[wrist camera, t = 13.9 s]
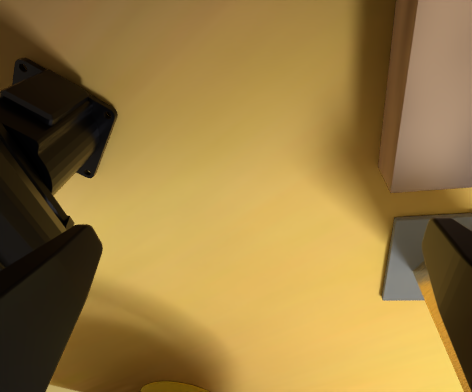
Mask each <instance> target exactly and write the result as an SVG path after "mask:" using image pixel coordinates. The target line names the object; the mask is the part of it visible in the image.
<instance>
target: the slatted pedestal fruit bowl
mask: <svg viewBox="0 0 472 392" xmlns="http://www.w3.org/2000/svg"><path fill="white" fill-rule="evenodd" d="M140 392H209V391H207V390H205V389H202V388H200V387H197V386H194V385H190V384H185V383H180V382H170V381H160V382H153V383H149V384H146V385H145V386H143V387H142V389H141V391H140Z"/></svg>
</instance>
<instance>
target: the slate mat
mask: <svg viewBox="0 0 472 392" xmlns="http://www.w3.org/2000/svg"><path fill="white" fill-rule="evenodd" d="M437 217H449V218H452V219H454V220H456V221H457V222H459V223H460V224H462V225H463V226H465V227H467V228H468V229H470V230H471V231H472V213H464V214H446V215H427V216H409V217H395V218H394V224H393V230H392V237H391V243H390V249H389V255H388V261H387V267H386V273H385V279H384V285H383V292H382V300H425V299H424V297H423V295H422V292H421V290H420V288H419V285H418V283H417V281H416V278H415V276H414V274H413V270H414V269H416V268H417V267H418V266H419V265H420V264H421V263H422V262H424V261H425V260H424V256H423V252H422V241H423V238H424V234H425V231H426V228H427V224H428V222H429V220H430V219H431V218H437Z"/></svg>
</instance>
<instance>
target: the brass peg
mask: <svg viewBox="0 0 472 392" xmlns="http://www.w3.org/2000/svg"><path fill="white" fill-rule="evenodd" d="M413 274H414V276H415V278H416V281H417V283H418V285H419V288H420V290H421V292H422V295H423V297H424V299H425V302H426V304H427V306H428V309H429V311H430V313H431V316H432V318H433V320H434V323H435V325H436V327H437V330H438V332H439V334H440V337H441V339H442V341H443V344H444V346H445V348H446V351H447V353H448V355H449V358H450V360H451V362H452V365H453V367H454V369H455V372H456V374H457V376H458V379H459V381H460V383H461V386H462V388H463V390H464V392H471V390H470V388H469V385H468V383H467V380H466V378H465V375H464V373H463V370H462V368H461V365H460V363H459V360H458V358H457V355H456V353H455V351H454V348H453V346H452V343H451V341H450V338H449V336H448V333H447V331H446V328H445V326H444V323H443V321H442V318H441V316H440V313H439V310H438V307H437V304H436V300H435V297H434V293H433V289H432V285H431V282H430V278H429V274H428V271H427V267H426V263H425V261H424V262H422V263H421V264H420V265H419V266H418V267H417V268H416V269H414V270H413Z"/></svg>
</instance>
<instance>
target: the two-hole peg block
mask: <svg viewBox="0 0 472 392" xmlns="http://www.w3.org/2000/svg"><path fill="white" fill-rule="evenodd" d="M378 168H379V170H380V172H381V174H382V176H383V178H384V180H385V182H386V185H387V187H388V189H389V191H390V193H397V192H411V191H426V190H440V189H454V188H469V187H472V0H396V6H395V16H394V25H393V34H392V43H391V52H390V62H389V71H388V80H387V89H386V98H385V108H384V117H383V126H382V135H381V144H380V154H379V163H378Z"/></svg>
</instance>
